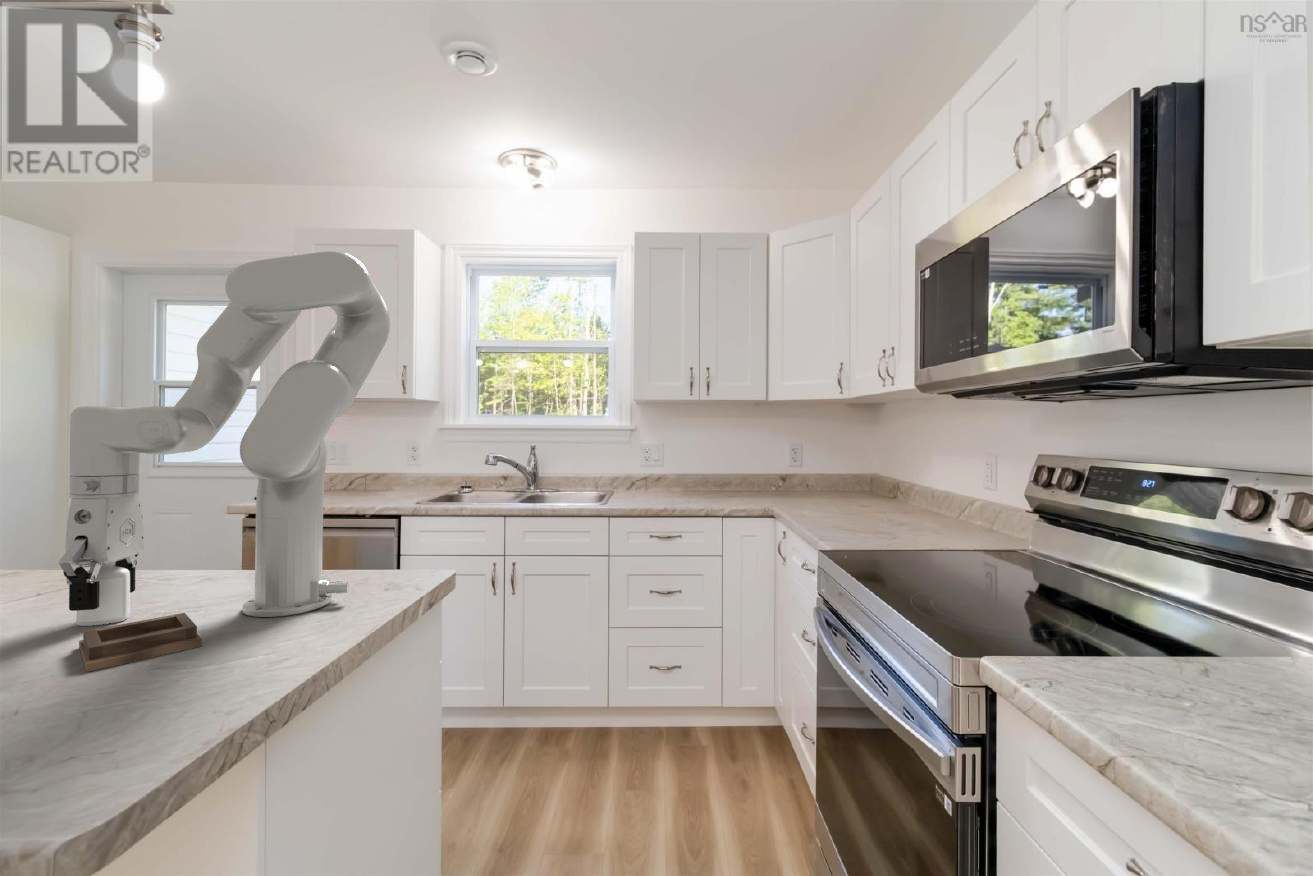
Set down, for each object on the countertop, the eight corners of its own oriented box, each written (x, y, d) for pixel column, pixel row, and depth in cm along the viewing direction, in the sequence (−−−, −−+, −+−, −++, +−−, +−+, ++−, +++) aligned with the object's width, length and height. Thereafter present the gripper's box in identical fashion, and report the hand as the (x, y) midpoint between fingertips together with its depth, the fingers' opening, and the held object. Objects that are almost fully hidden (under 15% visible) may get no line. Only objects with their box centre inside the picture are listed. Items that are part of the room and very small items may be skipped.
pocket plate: (185, 626, 82) (185, 610, 82) (201, 646, 75) (201, 628, 75) (79, 648, 73) (79, 629, 73) (86, 672, 66) (86, 651, 66)
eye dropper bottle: (107, 627, 81) (108, 547, 81) (70, 626, 81) (71, 546, 81) (135, 617, 85) (136, 541, 85) (100, 616, 85) (101, 540, 85)
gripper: (97, 492, 76) (95, 617, 76) (167, 481, 92) (165, 583, 93) (27, 493, 74) (26, 622, 74) (112, 481, 90) (110, 586, 90)
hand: (104, 600), depth 83 cm, fingers open, 7 cm apart
